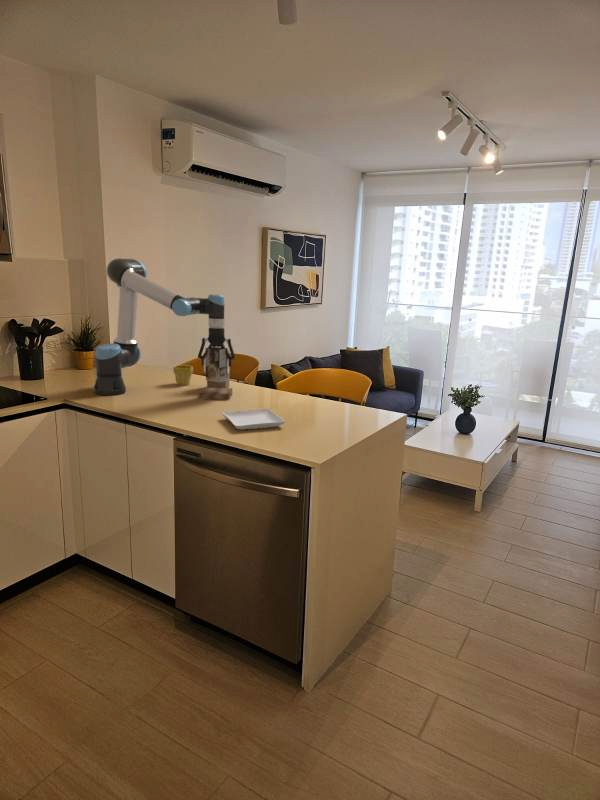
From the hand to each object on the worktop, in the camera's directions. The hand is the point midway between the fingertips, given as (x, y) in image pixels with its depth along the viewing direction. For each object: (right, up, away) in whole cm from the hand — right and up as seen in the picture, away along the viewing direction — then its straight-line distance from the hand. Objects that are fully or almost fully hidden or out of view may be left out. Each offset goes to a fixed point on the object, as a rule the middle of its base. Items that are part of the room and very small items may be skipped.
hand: (216, 372), depth 263 cm
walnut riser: (0, -12, +3) cm, 12 cm away
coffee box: (0, -4, +1) cm, 4 cm away
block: (-2, -7, +21) cm, 23 cm away
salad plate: (+21, -23, -41) cm, 52 cm away
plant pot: (-22, -5, +28) cm, 36 cm away
